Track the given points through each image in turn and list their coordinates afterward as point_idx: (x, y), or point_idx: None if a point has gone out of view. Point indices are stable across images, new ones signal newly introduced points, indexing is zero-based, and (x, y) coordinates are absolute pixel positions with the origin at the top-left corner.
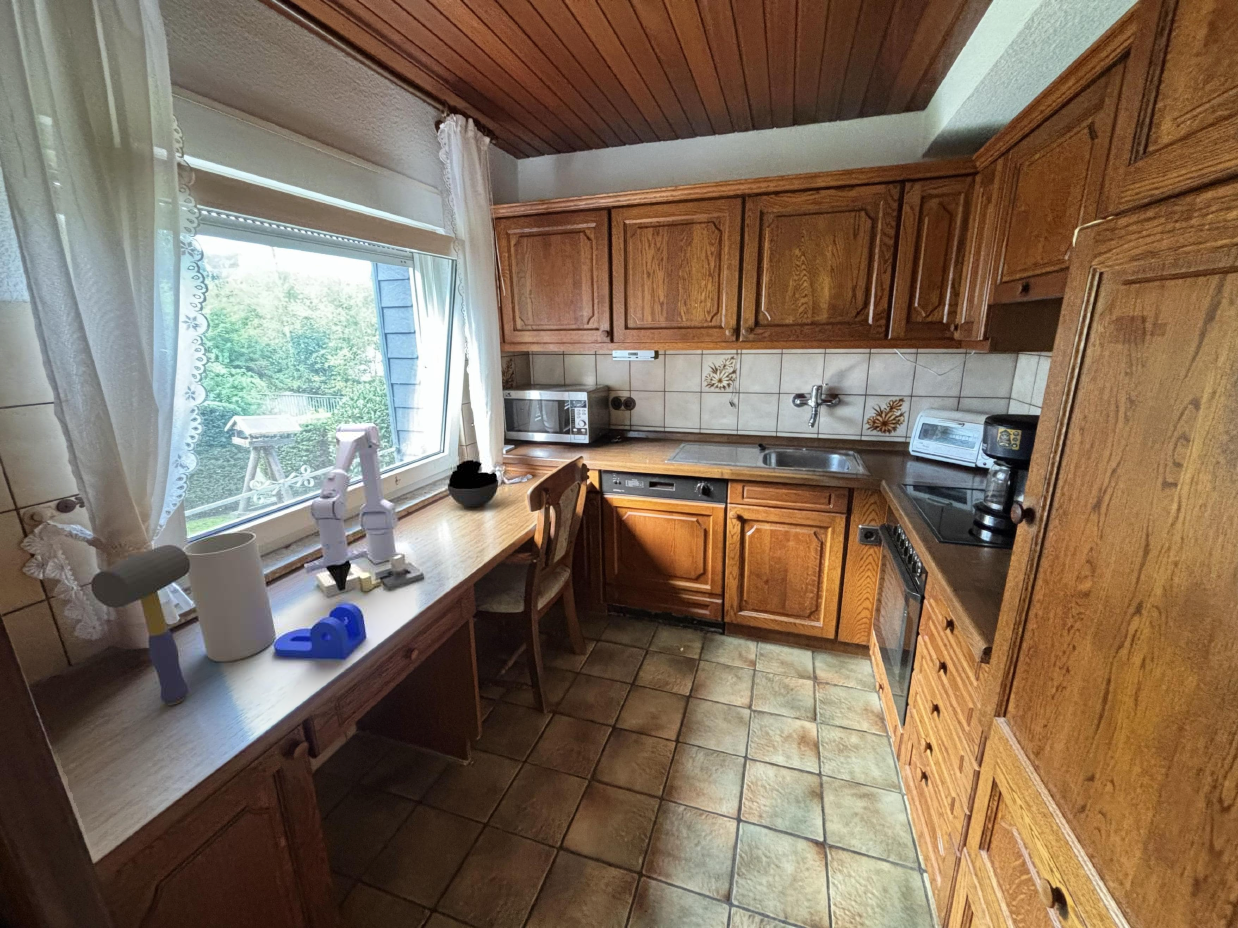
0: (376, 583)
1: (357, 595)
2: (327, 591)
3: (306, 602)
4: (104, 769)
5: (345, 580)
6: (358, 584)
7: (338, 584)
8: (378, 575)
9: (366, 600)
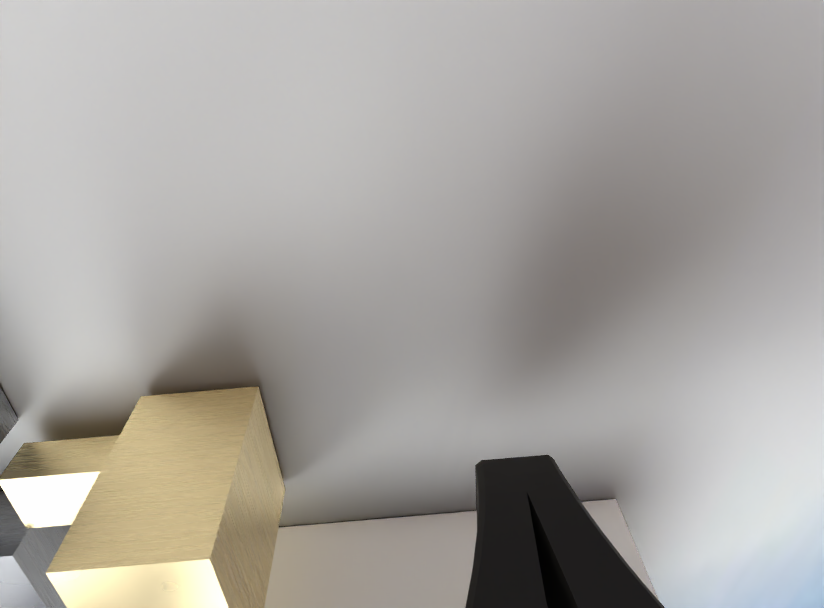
0: (72, 461)
1: (341, 353)
2: (628, 550)
3: (805, 496)
4: None
5: (486, 582)
6: (290, 552)
7: (601, 541)
8: (33, 599)
9: (250, 126)
